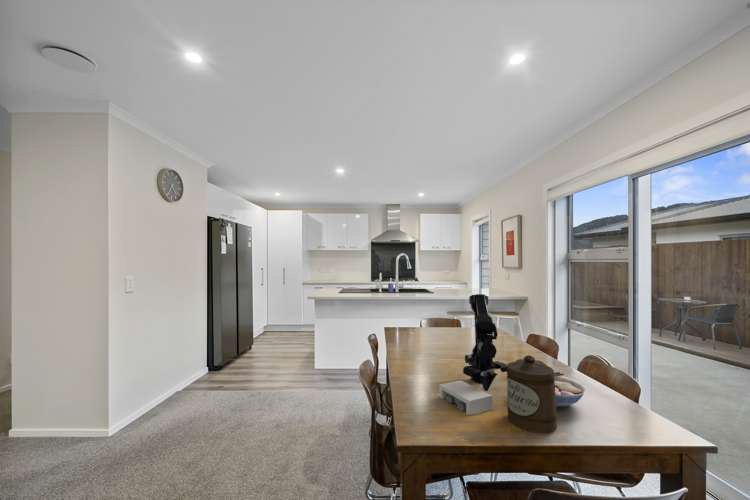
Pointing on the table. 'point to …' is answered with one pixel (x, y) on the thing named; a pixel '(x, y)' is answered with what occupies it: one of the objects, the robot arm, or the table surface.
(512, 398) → the wooden container
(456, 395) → the white box
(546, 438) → the table surface
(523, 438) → the table surface
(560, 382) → the ramen bowl
